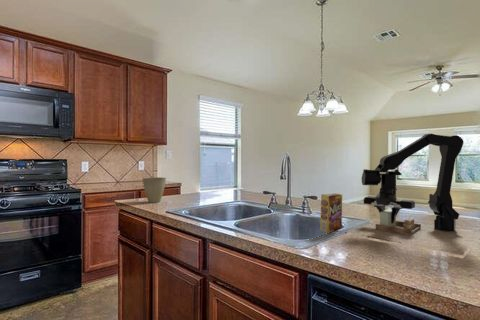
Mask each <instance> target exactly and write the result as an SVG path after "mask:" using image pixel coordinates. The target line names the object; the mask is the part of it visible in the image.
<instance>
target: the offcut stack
mask: <svg viewBox="0 0 480 320" xmlns="http://www.w3.org/2000/svg"><path fill="white" fill-rule="evenodd" d="M403 222H404V224H403V228H405V229H411V230H414V229H415V226H414V223H415V218H409V217H408V218H406V219H405V220H404V221H403Z"/></svg>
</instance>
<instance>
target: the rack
mask: <svg viewBox="0 0 480 320" xmlns="http://www.w3.org/2000/svg"><path fill="white" fill-rule="evenodd" d="M403 224H404V221H403V220H396V226H395V227H392V226H386V225H380V223H376V224H375V230H379V231H382V232H389V233H394V234H399V235H407V236H412V235H414V234H416V233H418V232H419V231H421V229H422V224H421V223H415V222H414V226H415V229H414V230H411V229H405V228H403Z"/></svg>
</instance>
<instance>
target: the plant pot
mask: <svg viewBox="0 0 480 320" xmlns="http://www.w3.org/2000/svg"><path fill="white" fill-rule="evenodd" d="M166 178H167V177H158V176H157V177H142V184H143V188H144V193H145V196H146V198H147V199H146V200H147V202H148V203H152V204H154V203H156V202H157V203H160V202H161V200H162V198H163V196H164V195H163V194H164V191H165V186H166V182H167V181H166V180H167V179H166Z"/></svg>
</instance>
